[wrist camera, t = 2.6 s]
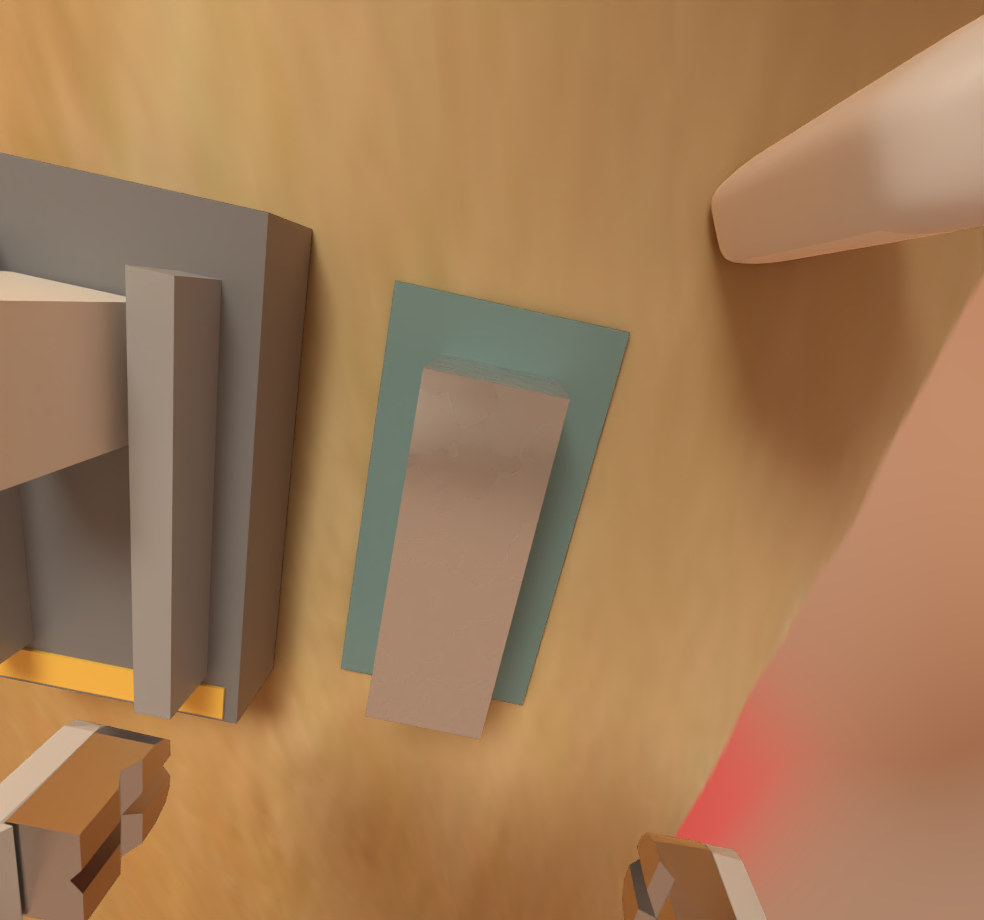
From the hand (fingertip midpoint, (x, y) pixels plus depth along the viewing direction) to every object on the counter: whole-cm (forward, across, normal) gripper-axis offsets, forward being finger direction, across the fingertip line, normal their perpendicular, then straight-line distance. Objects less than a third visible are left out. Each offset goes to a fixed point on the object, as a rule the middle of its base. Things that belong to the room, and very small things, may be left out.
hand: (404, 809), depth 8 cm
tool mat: (+11, 0, 0) cm, 11 cm away
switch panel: (+11, +12, 0) cm, 16 cm away
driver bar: (+11, 0, 0) cm, 11 cm away
